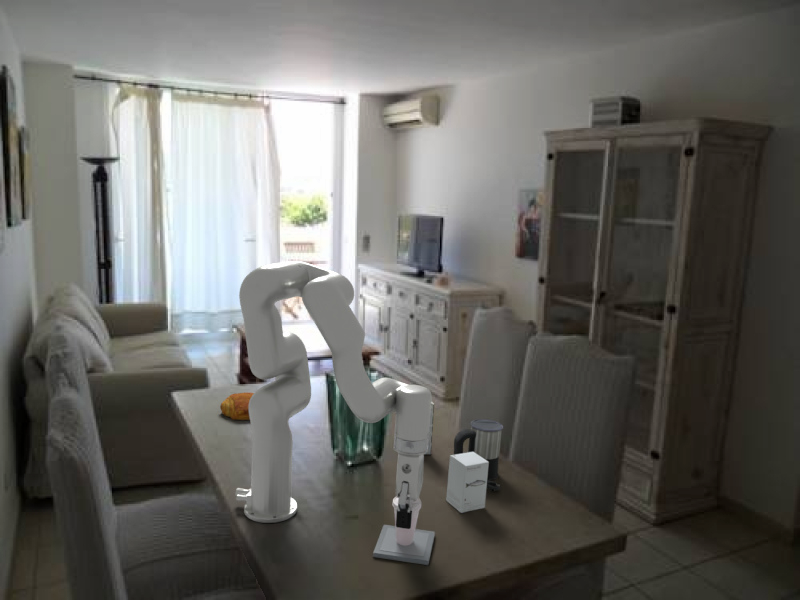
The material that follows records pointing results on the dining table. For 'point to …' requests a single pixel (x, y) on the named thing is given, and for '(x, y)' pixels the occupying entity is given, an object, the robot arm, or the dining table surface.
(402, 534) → the smoothie
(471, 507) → the supplement box
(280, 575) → the dining table surface
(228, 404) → the croissant
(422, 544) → the plate
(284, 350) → the robot arm
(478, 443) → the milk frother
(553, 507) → the dining table surface
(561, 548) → the dining table surface
